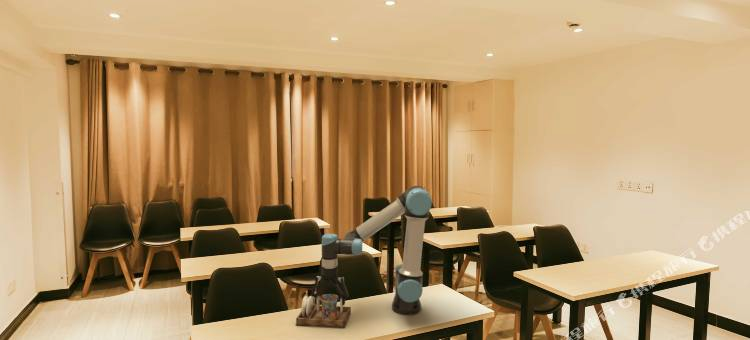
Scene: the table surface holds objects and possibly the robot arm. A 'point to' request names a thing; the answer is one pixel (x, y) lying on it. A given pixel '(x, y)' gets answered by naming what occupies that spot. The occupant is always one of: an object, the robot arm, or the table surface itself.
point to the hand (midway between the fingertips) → (329, 310)
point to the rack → (316, 319)
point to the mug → (329, 306)
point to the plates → (307, 306)
